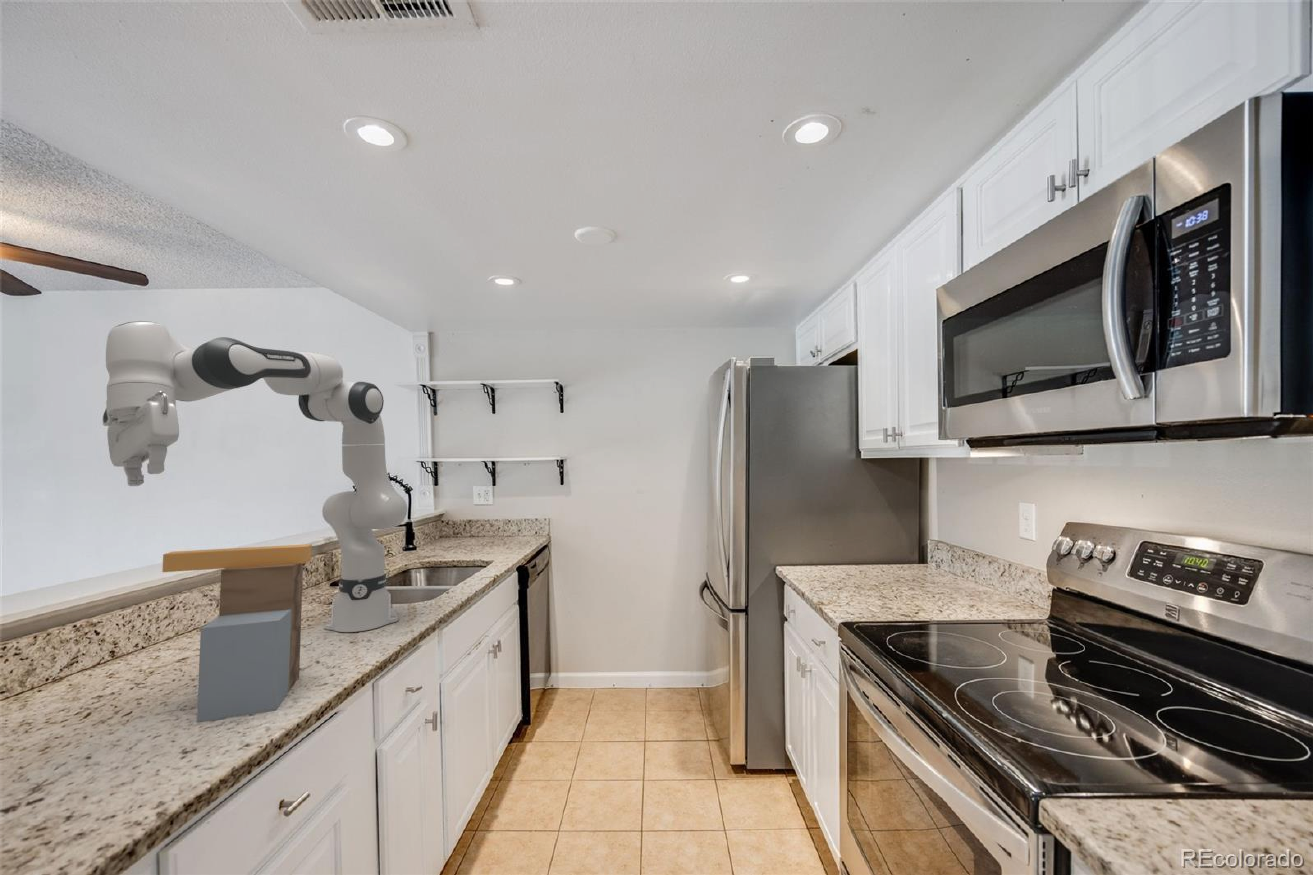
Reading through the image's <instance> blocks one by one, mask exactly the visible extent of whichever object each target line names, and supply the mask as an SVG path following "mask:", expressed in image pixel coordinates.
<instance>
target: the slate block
mask: <svg viewBox="0 0 1313 875" xmlns="http://www.w3.org/2000/svg"><path fill="white" fill-rule="evenodd" d="M290 633H291V609H289V610H278V611H267V612H257V613H246V614H235V615H224V616H219V615H218V616H216V618H213V619H212V620H211V621H209V622H208V623H207V624H205V625H203V626H202V627H200V639H199V660H198V662H199V663H198V684H197V685H198V686H197V687H198V688H197V703H196V704H197V707H196V710H197V711H196V723H202V722H208V721H215V720H221V719H227V718H233V717H240V716H246V715H252V714H260V713H261V714H262V713H266V712H273V711H277V709H278V708H279V707H280V706H281V704H282V703H283V701H284V700H285V698H286V697H287V695H288V694H289V692H290V691H289V662H290ZM288 691H289V692H288Z"/></svg>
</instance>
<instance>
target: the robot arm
mask: <svg viewBox="0 0 1313 875" xmlns="http://www.w3.org/2000/svg"><path fill="white" fill-rule="evenodd" d="M105 346H106V347H105V368H106V370H107V372H108V375H109V380H108V383H107V385H106V402H105V403H106V406H105V407H106V408H105V411H104V412H103V415H102V425H103V426H104V427H107V435H106V436H107V444H108V452H109V458H110V462H111V463H112V465H113V466H114V467H118V468H119V467H120V468H121V467H122V468H123V471H124V473H125V475H126V478H127V481H126V482H127V485H128V486H129V487H140V486H141V485H143V484H144V483H145V480H144V479H145V477H144V476H145V475H144V474H143V472H142V468H143V464H144V463H145V462H146V461H148V463H147V465H146V467H147V468H146V469H147V473H148V474H149V475H159V474H162V473H163V472H164V471H165V461H166V457H167V453H168V448H169V447H170V446H171V445H174V443H176V442H178V440H179V437H180V426H179V425H180V424H179V419H178V412H177V404H176V403H177V401H180V402H188V403H189V402H194V401H195V402H197V401H199V400H204V399H206V398H207V399H208V398H210V397H213V396H217V395H219V394H223V393H225V392H230V391H231V390H234V389H240V388H243V387H248V386H250V385H252V384H254V383H256V382H257V381H259V380H261V379H263V380H264V382H265V384H266V385H267V386H268V387H269V388H270V389H271V390H272V391H273V392H275V393H277V394H280V395H286V396H298V400H297V401H298V408H299V409H300V411H301V413H302V414H303V416H304V417H305V418H307V419H309V420H312V421H317V422H334V423H335V422H336V423H337V422H339V423H341V425H342V435H341V445H342V446H341V458H342V460H341V463H342V464H341V465H342V466H341V467H342V473H343V474H344V475H345V476H346V477H348V479H350V481H352V483H353V485H354V487H355V490H356V491H355V490H353V491H351V490H348V491H342V492H338V493H334V494H331V495H330V496H328V497H327V499H326V500H325V501H324V503H323V506H322V511H321V512H322V517H323V519H324V521H325V522H326V523H327V524H328V525H329V526H330V527H331V528H332V530H333V531H334V533H335V536H336V537H337V540H338V544H339V548H340V551H341V552H340V553H341V554H340V556H341V572H340V574H341V577H340V578H339V582H338V592H339V593H338V594H337V595H336V596H335V597H333V599H332V604H331V605H332V606H331V617H330V621H328V622H327V623H325V624H324V626H323V629H324V630H329V631H330V630H331V631H335V632H339V633H354V632H363V631H364V632H365V631H368V630H375V629H377V628H378V629H379V628H381V627H384V626H386V625H388V624H392V623H396V622H398V621H399V618H398V615H397V613H396V610H395V609H394V607H393V604H392V603H391V600H392V599H391V596H392V595H391V593H390V592H389V591H388V590H387V588H386V586H387V574H386V573H385V570H386V569H385V567H386V562H385V561H386V549H385V546H384V544H382V542H380V541H379V540H378V539H377V537H376V536H375V533H374V532H373V530H386V529H392V528H394V527H395V528H397V527H398V526H400V525H401V524H402V523H403V521H404V520H405V519H406V517H407V514H408V504H407V502H406V499H404V496H402V495H401V494H400V493H398V491H396V489H395V488H394V486H393V484H392V483H391V480H390V477H389V475H388V471H387V462H386V442H385V441H386V438H385V437H386V436H385V430H384V424H383V420H382V417H381V414H382V411H383V409H384V408H383V407H384V396H383V393H382V392H381V390H380V389H379V387H378V386H377V385H375V384H374V383H371V382H366V381H344V380H343V379H344V369H343V367H342V365H341V363H340V362H339V361H338V360H337V359H336V358H334V357H332V356H330V355H326V354H323V353H319V352H313V351H312V352H311V351H301V350H296V351H295V350H280V349H270V348H264V347H256V346H253V345H251V344H248V343H245V342H243V341H241V340H239V339H235V338H231V337H224V336H222V337H216V338H213V339H211V340H209V341H207V342H205V343H202V344H201V345H197V346H195V347H191V348H188V347H187V346H185V345H183V344H182V343H180V342H179V341H178V340H177V339H175V338H174V337H173V336H172V335H171V334H170V332H169V330H168V328H167V327H166V326H165V325H163V324H161V323H157V322H153V321H148V320H147V321H144V320H139V321H129V322H125V323H121V324H118V325H115V326H114V327H112V328H111V329H110V331H109V333H108V336H107V339H106V344H105Z"/></svg>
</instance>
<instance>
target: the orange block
mask: <svg viewBox="0 0 1313 875" xmlns="http://www.w3.org/2000/svg"><path fill="white" fill-rule="evenodd" d="M312 546H313V544H312V543H310V544H309V543H308V544H292V545H291V544H290V545H289V544H288V545H269V546H252V547H251V546H250V547H249V546H248V547H236V548H235V547H232V548H217V549H215V548H214V549H198V550H197V549H195V550H194V549H193V550H176V551H175V550H174V551H169V552H166V553H163V554H162V573H173V572H188V571H204V570H205V571H206V570H219V569H221V570H223V569H225V568H237V567H253V566H268V565H284V564H299V563H303V564H308V563H309V562H310V561H312V552H313V551H312V548H313V547H312Z"/></svg>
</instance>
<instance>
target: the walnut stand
mask: <svg viewBox="0 0 1313 875" xmlns="http://www.w3.org/2000/svg"><path fill="white" fill-rule="evenodd" d="M303 572H304V563H299V564H284V565H268V566H253V567H237V568H222V569H221V571H220V588H219V589H220V590H219V591H220V592H219V613H218V616H224V615H235V614H246V613H257V612H267V611H278V610H289V609H291V633H290V662H289V691H288V693H290V691H291V690H292V688H293V687H294V685H295V684H296V683H297V681H298V680H299V679H300V667H301V666H300V663H301V639H302V638H301V636H302V635H301V634H302V633H301V632H302V604H303V601H302V600H303V575H304V574H303Z"/></svg>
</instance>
